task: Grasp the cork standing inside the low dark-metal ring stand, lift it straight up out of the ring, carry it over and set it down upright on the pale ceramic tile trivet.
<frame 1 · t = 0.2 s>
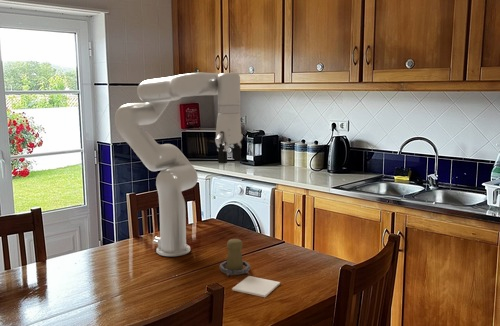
hand: (229, 161, 162), 36 cm above the table, tool pointing down, fingers open, 9 cm apart
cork: (234, 272, 159), resting in ring stand
tile trivet: (256, 287, 147), on the table
ring stand: (234, 271, 159), on the table
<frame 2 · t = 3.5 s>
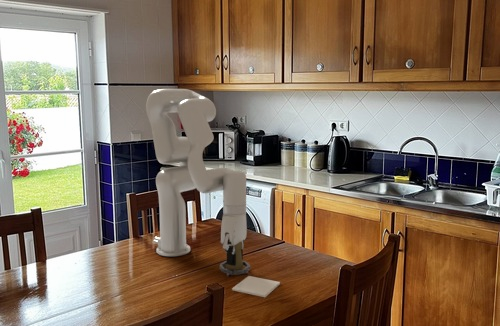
hand: (234, 262, 159), 3 cm above the table, tool pointing down, fingers closed on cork, 4 cm apart
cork: (234, 272, 159), resting in ring stand, touching gripper
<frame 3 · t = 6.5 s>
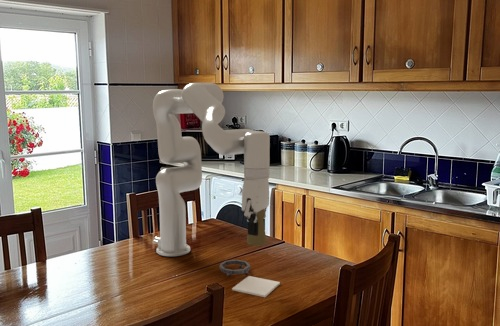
hand: (256, 232, 144), 17 cm above the table, tool pointing down, fingers closed on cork, 4 cm apart
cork: (256, 243, 145), point 14 cm above the table, touching gripper
when the fingers open (5 cm above the table, at t = 9.5 s): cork drops 1 cm, resting on tile trivet.
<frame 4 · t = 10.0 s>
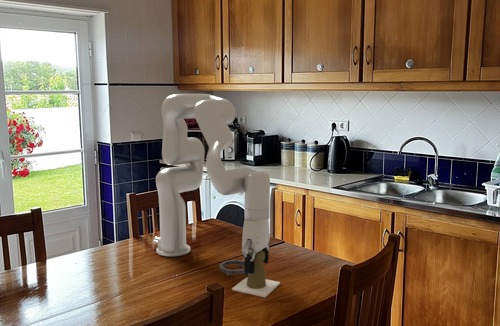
hand: (256, 267, 146), 6 cm above the table, tool pointing down, fingers open, 9 cm apart
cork: (256, 285, 147), resting on tile trivet
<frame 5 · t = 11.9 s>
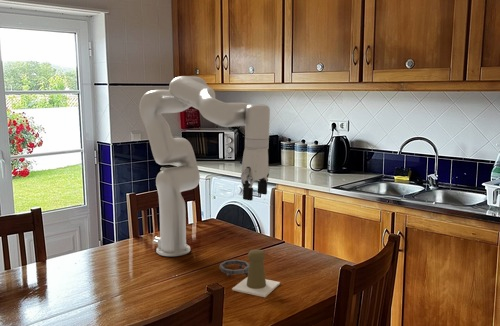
hand: (255, 196, 153), 26 cm above the table, tool pointing down, fingers open, 9 cm apart
nothing on the table moved.
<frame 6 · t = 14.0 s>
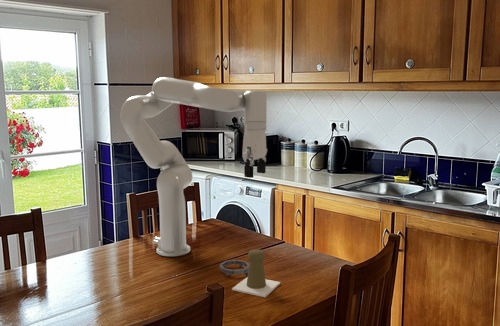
hand: (255, 175, 168), 30 cm above the table, tool pointing down, fingers open, 9 cm apart
nothing on the table moved.
at the end: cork inside the target area on the tile trivet (0.4 cm from its centre), point 0.4 cm above the tile trivet's base; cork tilted 0°; the gripper is holding nothing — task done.
